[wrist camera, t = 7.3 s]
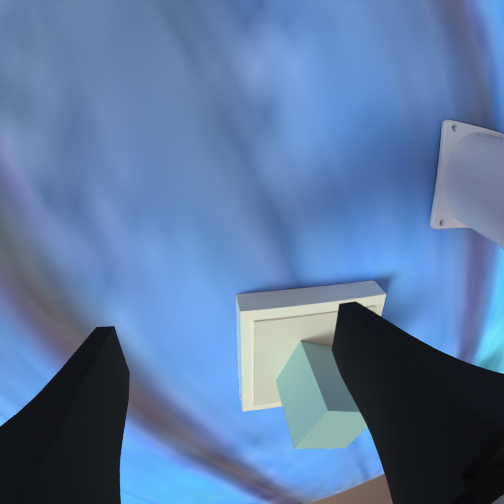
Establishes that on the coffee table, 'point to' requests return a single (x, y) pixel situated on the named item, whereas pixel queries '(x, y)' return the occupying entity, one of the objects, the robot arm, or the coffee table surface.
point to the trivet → (288, 331)
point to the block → (317, 400)
